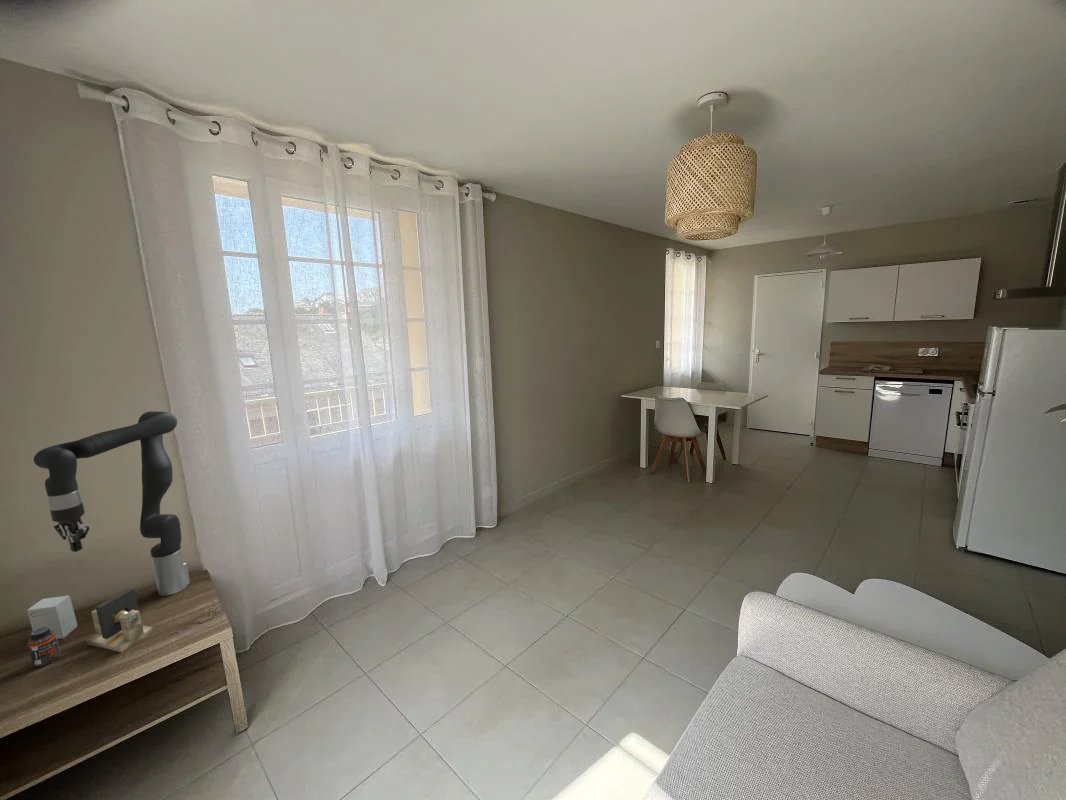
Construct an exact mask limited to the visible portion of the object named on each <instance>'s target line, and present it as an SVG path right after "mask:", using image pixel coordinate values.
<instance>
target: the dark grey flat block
mask: <svg viewBox="0 0 1066 800" xmlns="http://www.w3.org/2000/svg"><path fill="white" fill-rule="evenodd" d="M95 609H96V611H97V615H98V620H99V624H100V628H101V633H102V637H103V638H104V639H108V638H110V637H112V636H113V635H115V634H117V633H118V632H120V631H121V630H122V628H121V623H120V622H116V621H115V622H114V618H113V615H114V614H116V613H117V612H119V611H121V610H125V611H127V612H130V611H131V610H137V611H139V612H140V610H139V605H138V600H137V595H136V591H135V588H132V587H131V588H130V587H129V588H128V589H125V590H124V591H122V592H121V593H119V594H117V595H115V596H113V597H111V598H109V599H108V600H105V601H104V602H102V603H100V604H99V605H96V606H95Z"/></svg>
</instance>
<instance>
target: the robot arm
mask: <svg viewBox="0 0 1066 800" xmlns="http://www.w3.org/2000/svg"><path fill="white" fill-rule="evenodd" d="M177 425H178V419H177V418H176V416H175V415H174V414H173V413H171V412H168V411H163V410H162V411H160V410H159V411H152V410H151V411H146V412H144V413H142V414H141V415H140V417H139V418H138V421H137V423H135V424H134V423H133V424H131V425H126V426H124V427H119V428H115V429H110V430H105V431H101V432H98V433H94V434H91V435H90V436H89V435H88V436H86V437H82V438H80V439H78V440H74V441H73V440H72V441H68V442H64V443H59V444H55V445H51V446H48V447H45V448H43V449H41V450H39V451H38V452H37V453H35V455H34V456H33V462H34V463H33V464H34V465H35V466H37V467H39V468H41V469H46V470H48V475H49V476H48V477H47V478H46V479H45V481H44V486H45V487H44V488H45V491H46V495H47V506H48V508H49V512H50V516H51V520H52V521H53V522H55V523H57V524H56V525H54V526H53V528H54V530H55V531H56V532H57V533H58V535H59V536H60V537H61V539H62V540H64V541H66V542H67V543H69V545H70V546H69V547H70V551H71V552H75V553H77V552H79V551H81V550H83V546H82V545H83V544H82V540H83V539H84V540H85V538H86V537H87V535H88V532H89V531H90V526H89V525H86V526H85V525H84V524H83V520H82V516H84V515H85V513H86V512H85V511H86V510H85V508H84V503H83V499H82V494H81V492H80V491H79V490H80V489H79V485H78V481H77V470H78V469H77V468H78V459H87V458H91V457H92V458H93V457H95V456H98V455H101V454H103V453H106V452H108V451H112V450H113V449H117V448H120V447H122V446H125V445H128V444H131V443H133V442H136V441H140V448H141V449H140V451H141V452H140V455H141V458H140V459H141V487H142V488H141V489H142V493H141V495H142V496H141V497H142V499H141V511H140V521H139V522H140V523H139V530H140V535H141V536H142V537H143V538H145V539H160V542H159V543H157V544H155V545H154V546H152V547H151V549H150V557H151V562H152V567H153V572H154V577H155V581H156V588H157V592H158V596H162V597H164V596H172V595H175V594H177V593H180V592H181V591H183V590H185V589H186V588H187V586H189V584H190V583H191V582H190V581H191V580H190V575H189V570H188V564H187V563H186V562H184V558H183V553H182V552H183V550H182V546H181V544H182V530H181V521H180V518H179V517H178V516H177V515H176V514H171V513H168V514H165V513H163V514H161V502H162V499H163V498H164V496H165V495H166V493H167V491H168V490H169V489H170V487H171V485H172V482H173V476H174V475H173V463H172V461H171V459H170V457H169V455H168V454H167V451H166V449H165V446H164V437H163V436H164V435H166V434H168V433H171V432H172V431H174V429H176V428H177Z"/></svg>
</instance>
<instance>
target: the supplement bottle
mask: <svg viewBox="0 0 1066 800" xmlns="http://www.w3.org/2000/svg"><path fill="white" fill-rule="evenodd" d="M27 646H28V650H29V651H28V652H29V655H30V658H31V663H32V665H33V667H42V666H46V665H49V664H50V663H53V662H54V661H55V660H57V659H58V658H59V657H60V656H61V652H60V646H59V642H58V639H57V638H56V634H55V632H54V631H50V628H49V627H48V626H45V627H41V628H38V629H36V630H34V631H33V630H32V632H30V638H29V640H28V642H27Z"/></svg>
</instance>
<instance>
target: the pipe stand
mask: <svg viewBox="0 0 1066 800" xmlns="http://www.w3.org/2000/svg"><path fill="white" fill-rule="evenodd" d="M91 616H92V621H93V627H94V630H95V634H94V635H92V636H91V637H89V638H87V639H86V640H85V642H86V645H90V646H94V647H96V648H101V649H106V650H111V651H114V652H119V653H122V652H124V651H125V650H127V649H129V648H130V647H131V646H133V645H135V644H136V643H138V642H140V641H141V640H142V639H144V638H145V637H147V636H148V635H150V634H151V633H154V631H155V629H154V627H153V626H148V625H146V624H145V625H144V624H143V623H142V619H141V618H142V617H141V613H140V610H139V611H137V610H131V611H130V612H127V611H125V610H124V609H123V610H121V611H119V612H117V613H116V614H114V615H113V618H114V622H115V623H116V622H120V623H121V628H122V630H121V631H120V632H118V633H117V634H115V635H113V636H112V637H110V638H108V639H104V638H103V637H102V633H101V628H100V624H99V620H98V615H97V611H96V608H95V609H94V610H92V611H91Z"/></svg>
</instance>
